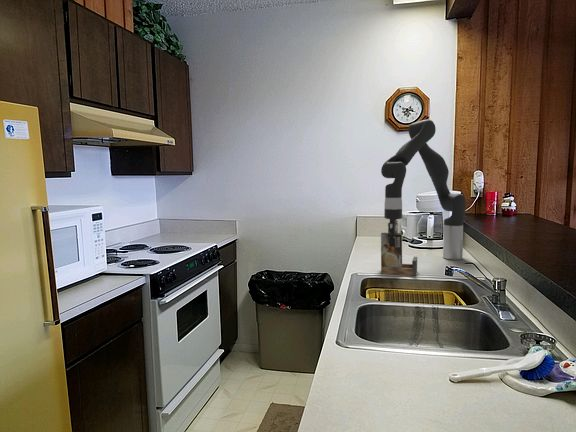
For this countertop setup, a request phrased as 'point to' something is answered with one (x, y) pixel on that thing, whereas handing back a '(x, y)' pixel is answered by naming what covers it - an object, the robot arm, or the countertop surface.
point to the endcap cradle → (402, 269)
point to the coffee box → (391, 251)
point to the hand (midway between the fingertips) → (392, 245)
